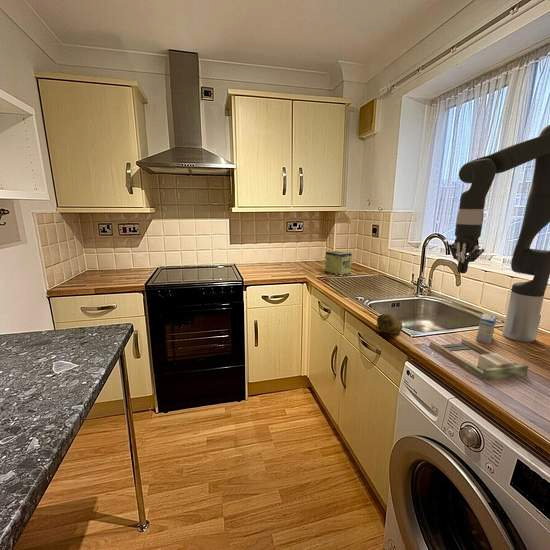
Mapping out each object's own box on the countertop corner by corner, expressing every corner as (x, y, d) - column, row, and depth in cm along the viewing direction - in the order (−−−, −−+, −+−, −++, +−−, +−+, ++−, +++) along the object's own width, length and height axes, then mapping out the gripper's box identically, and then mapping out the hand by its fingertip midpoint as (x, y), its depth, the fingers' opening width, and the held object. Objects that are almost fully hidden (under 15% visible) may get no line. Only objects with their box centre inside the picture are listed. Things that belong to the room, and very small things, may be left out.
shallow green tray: (464, 342, 107) (465, 334, 106) (526, 375, 86) (528, 365, 86) (429, 345, 104) (430, 337, 103) (485, 380, 83) (487, 370, 83)
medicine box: (478, 334, 115) (482, 312, 113) (492, 337, 112) (497, 315, 110) (476, 340, 109) (480, 318, 107) (490, 344, 106) (495, 321, 104)
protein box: (341, 276, 206) (342, 254, 202) (324, 272, 218) (325, 251, 214) (350, 274, 212) (352, 253, 209) (333, 271, 224) (334, 250, 221)
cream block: (493, 364, 92) (495, 353, 91) (512, 375, 86) (514, 362, 86) (477, 366, 91) (479, 354, 90) (495, 377, 85) (497, 364, 84)
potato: (411, 335, 113) (413, 315, 111) (383, 340, 108) (386, 319, 106) (394, 326, 120) (397, 308, 118) (368, 331, 115) (370, 311, 114)
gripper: (496, 224, 95) (487, 276, 99) (462, 221, 108) (455, 268, 112) (477, 224, 94) (468, 277, 98) (444, 221, 106) (438, 269, 110)
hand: (461, 272), depth 105 cm, fingers closed
